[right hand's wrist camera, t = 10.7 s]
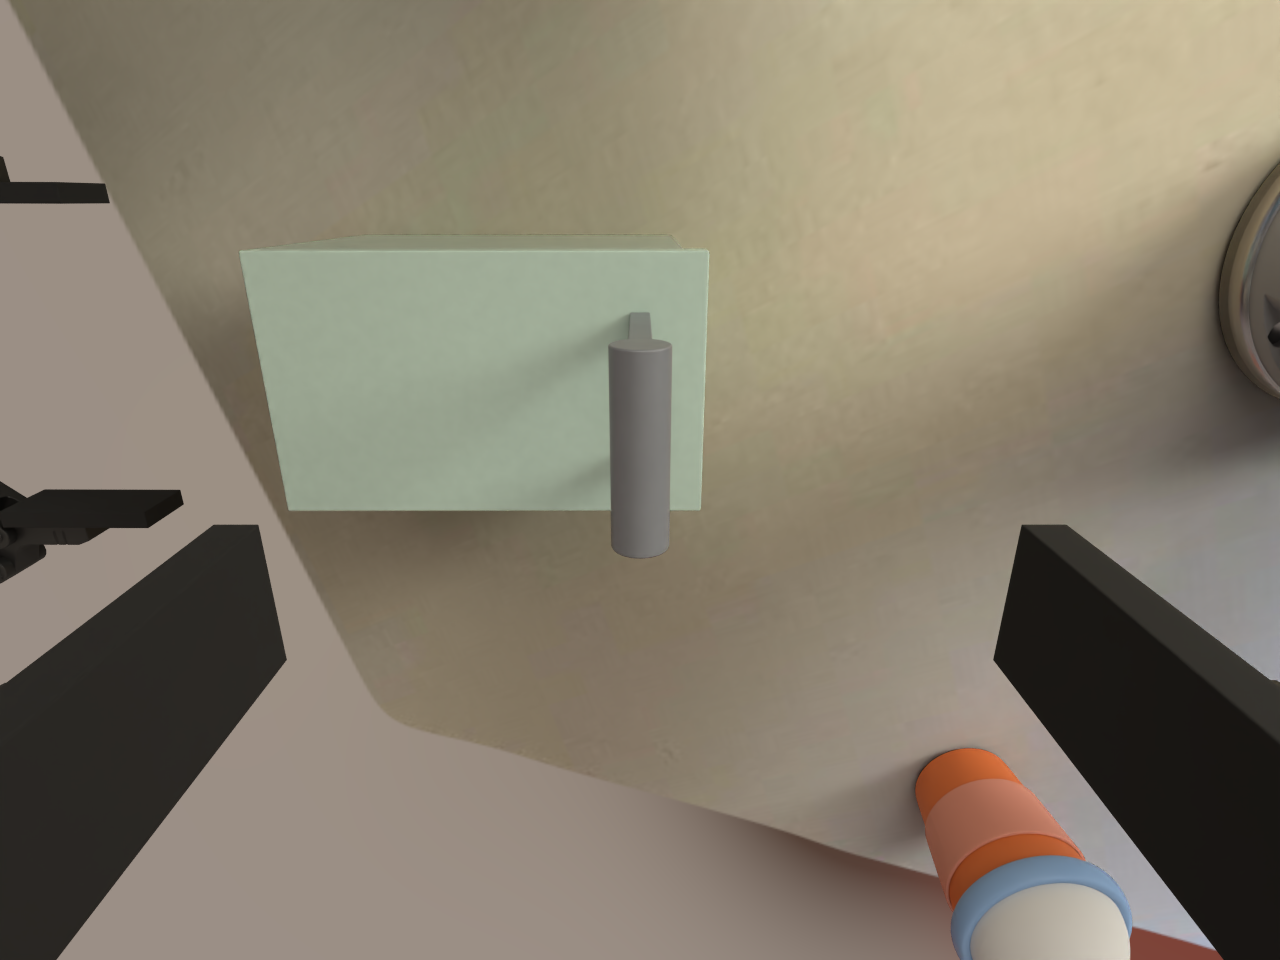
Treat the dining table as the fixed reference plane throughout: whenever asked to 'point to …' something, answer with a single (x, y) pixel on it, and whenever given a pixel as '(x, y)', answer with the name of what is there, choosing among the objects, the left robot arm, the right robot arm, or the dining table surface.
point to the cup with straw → (1014, 869)
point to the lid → (487, 380)
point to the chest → (491, 242)
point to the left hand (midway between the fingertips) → (128, 363)
